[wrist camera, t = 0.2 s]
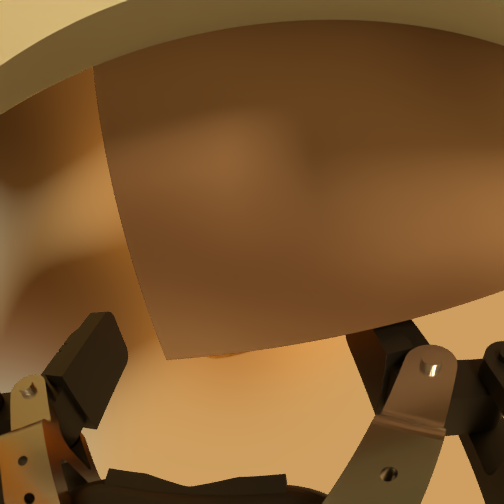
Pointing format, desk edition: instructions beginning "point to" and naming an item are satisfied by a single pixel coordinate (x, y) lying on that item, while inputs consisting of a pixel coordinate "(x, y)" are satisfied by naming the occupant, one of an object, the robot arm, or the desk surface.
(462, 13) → the cream plank with block
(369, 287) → the walnut stand
